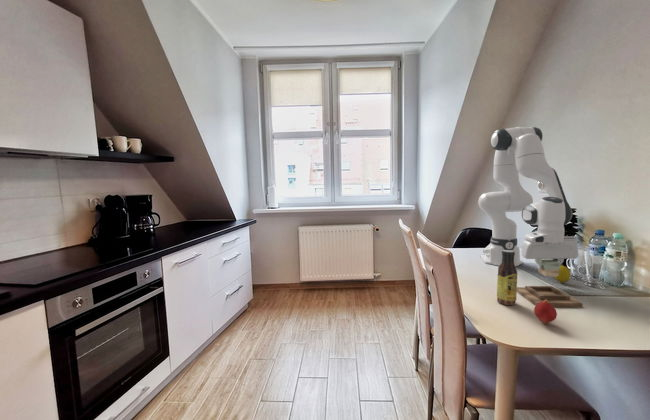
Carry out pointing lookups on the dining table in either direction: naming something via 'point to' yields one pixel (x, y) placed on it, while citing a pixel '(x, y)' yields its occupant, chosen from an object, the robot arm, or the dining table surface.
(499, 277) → the sauce bottle
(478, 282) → the dining table surface
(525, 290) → the socket board
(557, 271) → the block
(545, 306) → the red bumpy ovoid
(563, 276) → the lemon
